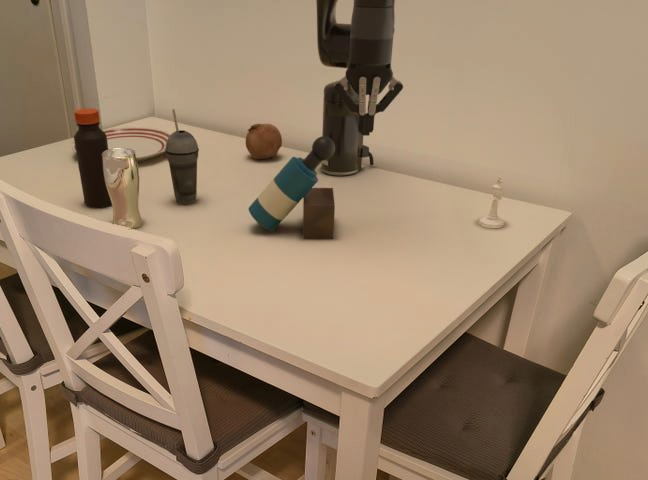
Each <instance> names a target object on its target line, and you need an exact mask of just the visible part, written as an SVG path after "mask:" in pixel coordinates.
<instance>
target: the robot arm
mask: <svg viewBox="0 0 648 480" xmlns="http://www.w3.org/2000/svg"><path fill="white" fill-rule="evenodd" d="M338 1H339V0H315V2H316V4H315V5H316V38H317V39H316V41H317V52H318V53H317V54H318V58H319V61H320V63H321V64H322V66H324V67H328V68H336V69H346V71H345V75H344V76H343V77H342V78H341V79H339V80H336V81H332V82H329V83H328V84H326V85H325V86H324V88H323V102H322V130H321V131H322V132H321V133H322V135H321V137H322V136H326V137H329V138H330V139H332V141H333V142H334V144H335V152H334V154H333V156H332V157H331V158H329V159H327V160H322V162H321V163H320V171H321V172H322V173H324V174H326V175H330V176H339V177H340V176H341V177H342V176H344V177H345V176H350V175H354V174H357V173H358V172H360V171H362V163H363V158H369V165H370V166H374V165H375V163H374V156H373V154H372V152H370V147H369V146H367V145H364V136H365V137H367V136H368V137H369V136H370V135H371V134H370V133H373V131H374V126H375V116H376V114H378V113H384V112H385V110H386V109H387V108H388V107H389V106H390V105H391V103H392V102H393V101H394V100H395V99H396V98H397V96H398V95H399V94H400V93H401V91H402V90H403V89H404V85H403V82H401V81H400V80H397V79H396V78H395V77H394V72H393V70H392V59H393V58H392V57H393V47H394V45H393V44H394V34H395V31H396V30H395V29H396V28H395V22H396V17H395V16H396V15H395V5H396V0H353V7H352V14H351V20H350V23H339V22H337V17H336V16H337V15H336V14H337V13H336V12H337V6H338V5H337V4H338ZM387 86H388V91H387V92H386V93H385V95H384V96H383V97H382V98H381V100H379V101H378V97H379V95H380V94H381V93H382V92H383V91H384V90H385V88H386V87H387ZM367 96H368V101H367ZM367 102H368V103H367ZM366 108H367V109H366Z"/></svg>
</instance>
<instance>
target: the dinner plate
mask: <svg viewBox="0 0 648 480" xmlns="http://www.w3.org/2000/svg"><path fill="white" fill-rule="evenodd" d="M101 130H102V131H104V132H105V134H106V136H107V143H108V150H109V149H114V148H129V149H133V150H135V153H136V159H137V163H139V162H143V161H146V160H147V161H148V160H150V159H152V158H154V157H156V156H159V155H161V154H163V153H166V152H165V149H166V142H167V140H168V138H169V136H170V135H171V134H172V133H170V132H168V131H166V130H163V129H158V128H153V127H141V126H139V127H138V126H137V127H135V126H131V127H117V128H116V127H115V128H109V129H101ZM71 149H72V151H73V153H75V154H76V148H75V142H74V141H73V143H72V145H71Z"/></svg>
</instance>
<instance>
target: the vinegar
mask: <svg viewBox="0 0 648 480" xmlns="http://www.w3.org/2000/svg"><path fill="white" fill-rule="evenodd" d="M73 113H74V119H75V124H76V126H77V127H78V130H77V131H76V132H75V134H74V136H73V143H74V142H75V148H76V153H75V154H76V158H77V165H78V172H79V177H80V183H81V189H82V195H83V201H84V204H85V206H86V207H88V208H93V209H103V208H107V207H110V206H112V203H111V200H110V197H109V194H108V191H107V188H106V184H105V180H104V174H103V162H102V152H104V151H106V150H108V143H107V136H106V134H105V132H104V131H102V130H103V129H101V127H100V124H101V119H100V113H99V109H96V108H92V107H91V108H80V109H77V110H74V112H73Z"/></svg>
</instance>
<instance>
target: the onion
mask: <svg viewBox="0 0 648 480" xmlns="http://www.w3.org/2000/svg"><path fill="white" fill-rule="evenodd" d="M246 131H247V134H246V136H245V145H246V146H245V148H246V150H247V151H248V153H249V154H250V155H251V156H252V157H253V158H255V159H257V160H265V159H266V160H267V159H272V158H273V157H275V156H276V155H277V154H278V152H279V151H280V149H281V148H282V146H283V137H282V134H281V131H280V129H278V127H277V126H276V125H274V124H271V123H255V124H252V125H251V126H250V127H249V128H248V129H247V130H246Z"/></svg>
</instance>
